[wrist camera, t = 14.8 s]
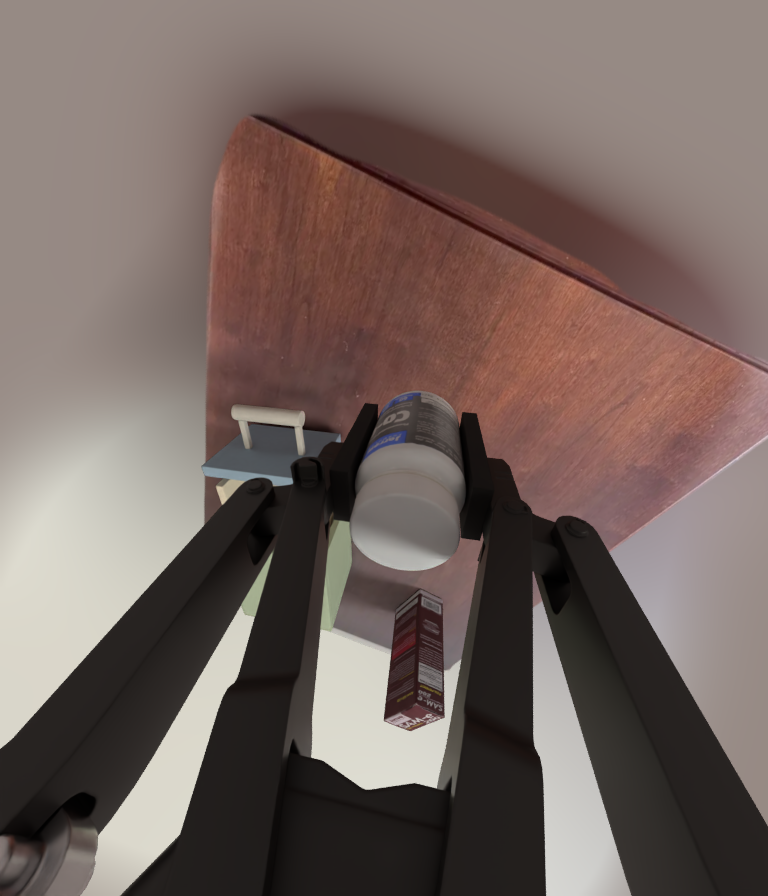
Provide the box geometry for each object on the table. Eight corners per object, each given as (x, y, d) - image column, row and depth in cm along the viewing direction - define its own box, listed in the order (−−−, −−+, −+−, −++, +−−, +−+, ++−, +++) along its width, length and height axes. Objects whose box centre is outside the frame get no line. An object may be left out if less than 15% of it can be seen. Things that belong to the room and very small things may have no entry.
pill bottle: (403, 372, 16) (375, 459, 9) (475, 416, 17) (503, 529, 10) (364, 436, 18) (318, 543, 11) (428, 472, 19) (422, 594, 12)
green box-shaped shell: (265, 484, 43) (217, 544, 34) (349, 495, 42) (323, 561, 32) (280, 550, 51) (244, 615, 41) (352, 562, 49) (331, 631, 40)
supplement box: (417, 619, 55) (410, 733, 42) (395, 608, 54) (380, 720, 41) (444, 599, 50) (446, 719, 37) (420, 587, 50) (413, 705, 36)
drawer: (242, 385, 34) (184, 420, 26) (338, 394, 33) (306, 434, 25) (269, 504, 44) (233, 556, 36) (344, 515, 42) (323, 571, 35)
